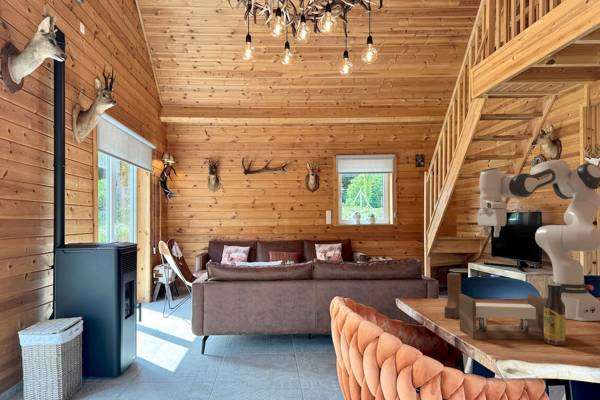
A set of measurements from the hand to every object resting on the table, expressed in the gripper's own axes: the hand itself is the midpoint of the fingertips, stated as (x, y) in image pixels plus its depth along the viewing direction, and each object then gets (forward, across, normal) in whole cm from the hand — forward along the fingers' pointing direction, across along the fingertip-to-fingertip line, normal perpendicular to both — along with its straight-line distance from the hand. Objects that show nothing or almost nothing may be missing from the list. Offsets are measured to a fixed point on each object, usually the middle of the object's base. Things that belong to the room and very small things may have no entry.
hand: (491, 236), depth 183 cm
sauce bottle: (+34, +41, +2) cm, 53 cm away
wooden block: (+34, +2, -18) cm, 39 cm away
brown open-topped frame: (+34, +30, -10) cm, 46 cm away
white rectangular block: (+28, +30, -10) cm, 42 cm away
